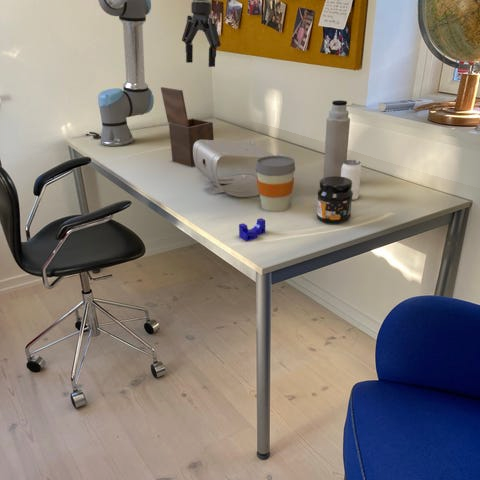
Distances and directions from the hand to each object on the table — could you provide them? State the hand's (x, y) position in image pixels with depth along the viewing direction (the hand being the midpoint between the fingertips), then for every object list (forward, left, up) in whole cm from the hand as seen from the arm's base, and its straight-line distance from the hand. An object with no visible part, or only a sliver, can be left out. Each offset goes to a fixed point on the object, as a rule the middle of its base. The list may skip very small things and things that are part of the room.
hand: (200, 64), depth 205 cm
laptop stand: (+39, -19, -36) cm, 57 cm away
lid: (0, -14, -14) cm, 20 cm away
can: (+76, -1, -36) cm, 85 cm away
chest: (0, -7, -36) cm, 37 cm away
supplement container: (+84, -20, -36) cm, 94 cm away
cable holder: (+75, -46, -36) cm, 96 cm away
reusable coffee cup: (+63, -24, -36) cm, 77 cm away
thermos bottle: (+62, +9, -36) cm, 73 cm away
